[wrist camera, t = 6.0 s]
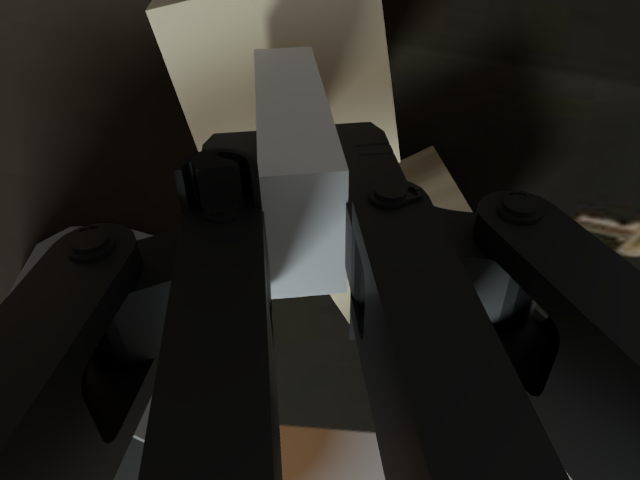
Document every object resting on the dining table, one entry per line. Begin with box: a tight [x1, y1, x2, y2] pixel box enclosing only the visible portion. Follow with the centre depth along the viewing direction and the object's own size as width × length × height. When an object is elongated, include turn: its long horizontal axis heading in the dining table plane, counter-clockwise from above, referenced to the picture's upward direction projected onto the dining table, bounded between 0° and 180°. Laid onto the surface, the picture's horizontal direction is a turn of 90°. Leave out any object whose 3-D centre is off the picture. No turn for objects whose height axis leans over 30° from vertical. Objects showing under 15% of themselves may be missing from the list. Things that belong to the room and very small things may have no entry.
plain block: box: [146, 0, 401, 162], centre depth 18 cm, size 6×6×6 cm
